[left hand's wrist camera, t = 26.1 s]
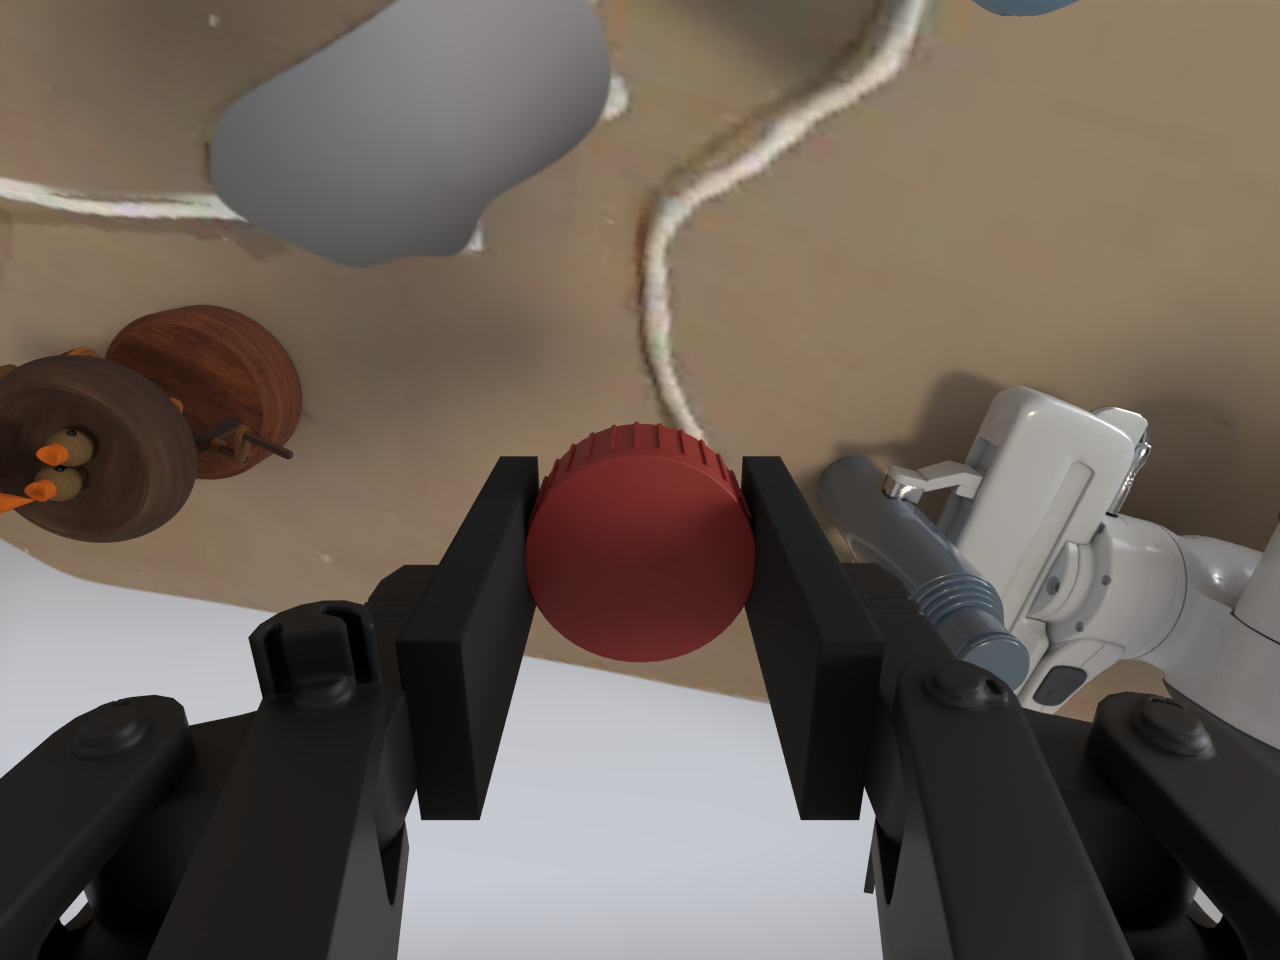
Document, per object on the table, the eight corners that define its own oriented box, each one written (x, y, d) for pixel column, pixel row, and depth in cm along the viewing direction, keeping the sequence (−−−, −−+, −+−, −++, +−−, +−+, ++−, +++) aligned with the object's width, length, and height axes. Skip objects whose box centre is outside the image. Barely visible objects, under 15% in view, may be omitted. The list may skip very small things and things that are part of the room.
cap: (747, 416, 14) (763, 447, 12) (743, 609, 15) (757, 662, 13) (526, 424, 14) (508, 455, 12) (545, 615, 15) (532, 669, 14)
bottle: (897, 494, 48) (1069, 680, 29) (839, 530, 49) (968, 733, 30) (864, 443, 47) (1021, 602, 28) (805, 481, 48) (917, 660, 29)
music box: (104, 436, 46) (-261, 548, 27) (126, 273, 44) (-263, 269, 24) (333, 504, 48) (141, 655, 29) (368, 351, 45) (182, 406, 26)
